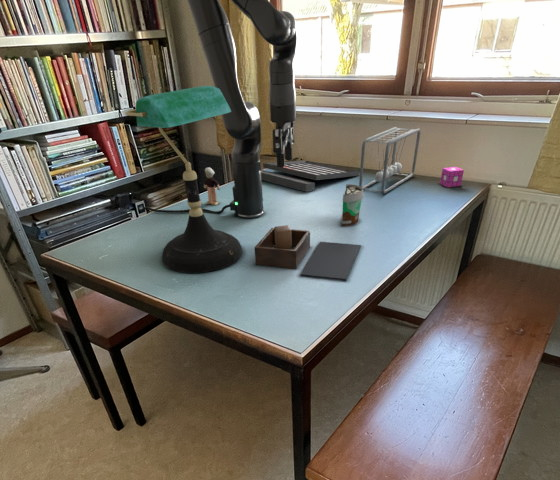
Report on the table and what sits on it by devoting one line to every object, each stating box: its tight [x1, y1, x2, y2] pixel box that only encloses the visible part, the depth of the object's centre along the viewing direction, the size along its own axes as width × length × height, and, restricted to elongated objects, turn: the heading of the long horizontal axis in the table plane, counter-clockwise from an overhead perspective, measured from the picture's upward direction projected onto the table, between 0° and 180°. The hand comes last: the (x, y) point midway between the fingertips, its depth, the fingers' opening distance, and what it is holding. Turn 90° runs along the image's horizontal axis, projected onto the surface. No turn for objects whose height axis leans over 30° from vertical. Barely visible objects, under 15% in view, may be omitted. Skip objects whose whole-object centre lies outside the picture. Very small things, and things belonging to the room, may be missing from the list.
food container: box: [341, 183, 365, 227], centre depth 135 cm, size 12×6×10 cm, turn 168°
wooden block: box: [273, 224, 293, 250], centre depth 117 cm, size 4×4×8 cm
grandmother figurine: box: [203, 167, 221, 206], centre depth 154 cm, size 8×4×13 cm, turn 68°
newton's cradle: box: [358, 126, 421, 195], centre depth 164 cm, size 30×10×18 cm, turn 144°
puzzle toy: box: [439, 166, 465, 188], centre depth 163 cm, size 6×6×6 cm
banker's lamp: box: [125, 85, 243, 274], centre depth 109 cm, size 26×23×40 cm
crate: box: [254, 227, 311, 270], centre depth 117 cm, size 12×15×5 cm
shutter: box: [261, 159, 360, 193], centre depth 181 cm, size 32×7×31 cm
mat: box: [299, 241, 362, 282], centre depth 115 cm, size 12×22×1 cm, turn 162°
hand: (284, 163), depth 131 cm, fingers open, 8 cm apart
